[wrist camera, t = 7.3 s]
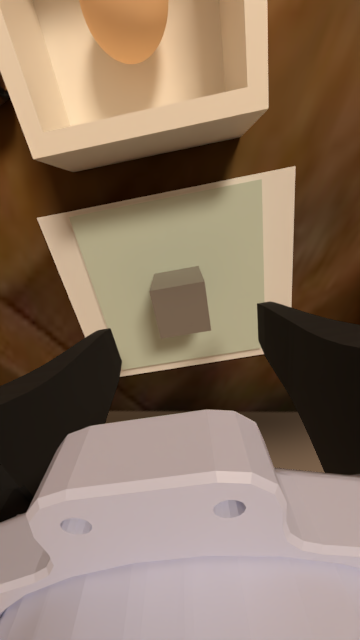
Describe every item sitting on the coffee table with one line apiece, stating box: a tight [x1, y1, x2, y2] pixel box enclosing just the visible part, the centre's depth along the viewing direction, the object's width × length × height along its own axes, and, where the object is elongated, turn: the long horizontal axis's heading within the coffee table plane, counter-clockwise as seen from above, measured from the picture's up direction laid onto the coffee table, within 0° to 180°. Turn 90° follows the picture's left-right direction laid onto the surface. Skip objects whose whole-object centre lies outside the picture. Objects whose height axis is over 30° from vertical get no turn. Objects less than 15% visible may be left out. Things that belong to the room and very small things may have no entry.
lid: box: [69, 179, 264, 370], centre depth 15 cm, size 12×12×4 cm
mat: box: [37, 166, 295, 377], centre depth 17 cm, size 16×13×1 cm
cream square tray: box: [0, 0, 268, 172], centre depth 10 cm, size 10×10×4 cm
